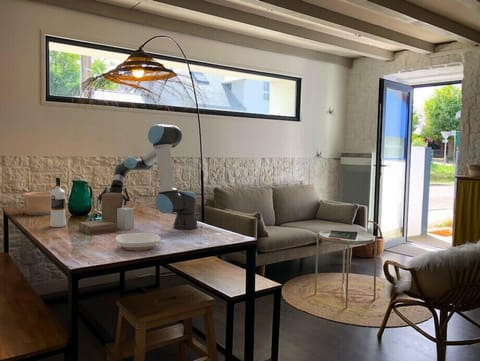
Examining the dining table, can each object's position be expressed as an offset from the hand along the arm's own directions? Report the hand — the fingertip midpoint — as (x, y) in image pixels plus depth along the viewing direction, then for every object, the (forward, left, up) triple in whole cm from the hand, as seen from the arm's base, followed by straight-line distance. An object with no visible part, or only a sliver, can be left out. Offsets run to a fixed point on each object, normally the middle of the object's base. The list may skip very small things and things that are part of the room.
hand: (111, 208), depth 262 cm
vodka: (+14, +28, -11) cm, 33 cm away
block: (+1, -1, -11) cm, 11 cm away
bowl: (-62, +15, -11) cm, 64 cm away
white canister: (-13, -3, -10) cm, 17 cm away
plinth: (-12, +14, -11) cm, 21 cm away
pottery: (+68, +22, -11) cm, 72 cm away
